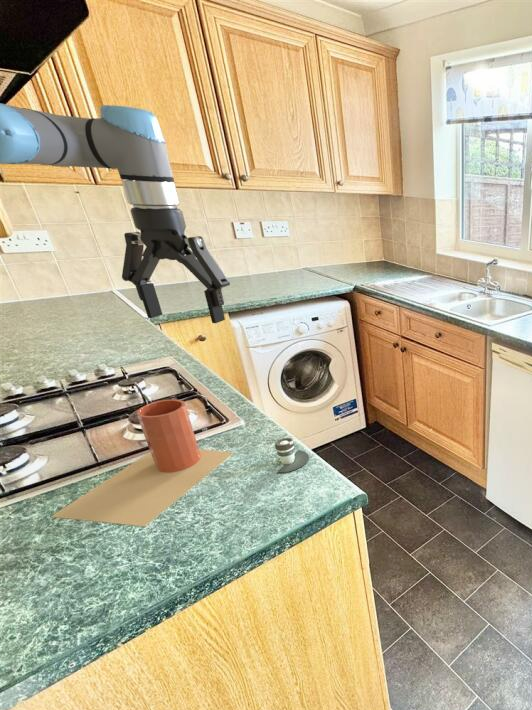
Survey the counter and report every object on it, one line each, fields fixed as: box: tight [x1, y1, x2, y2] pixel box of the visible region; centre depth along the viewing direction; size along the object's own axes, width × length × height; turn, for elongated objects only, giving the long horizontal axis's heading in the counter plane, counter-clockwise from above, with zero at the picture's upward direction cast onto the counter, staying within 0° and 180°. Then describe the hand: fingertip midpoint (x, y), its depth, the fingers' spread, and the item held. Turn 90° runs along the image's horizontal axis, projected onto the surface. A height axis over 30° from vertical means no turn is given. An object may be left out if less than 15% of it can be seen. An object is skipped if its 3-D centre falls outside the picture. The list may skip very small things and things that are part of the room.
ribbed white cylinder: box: [274, 437, 310, 474], centre depth 83 cm, size 12×12×5 cm
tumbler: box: [136, 398, 201, 472], centre depth 80 cm, size 7×7×12 cm
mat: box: [50, 448, 235, 527], centre depth 77 cm, size 16×21×1 cm
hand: (187, 319), depth 86 cm, fingers open, 13 cm apart
